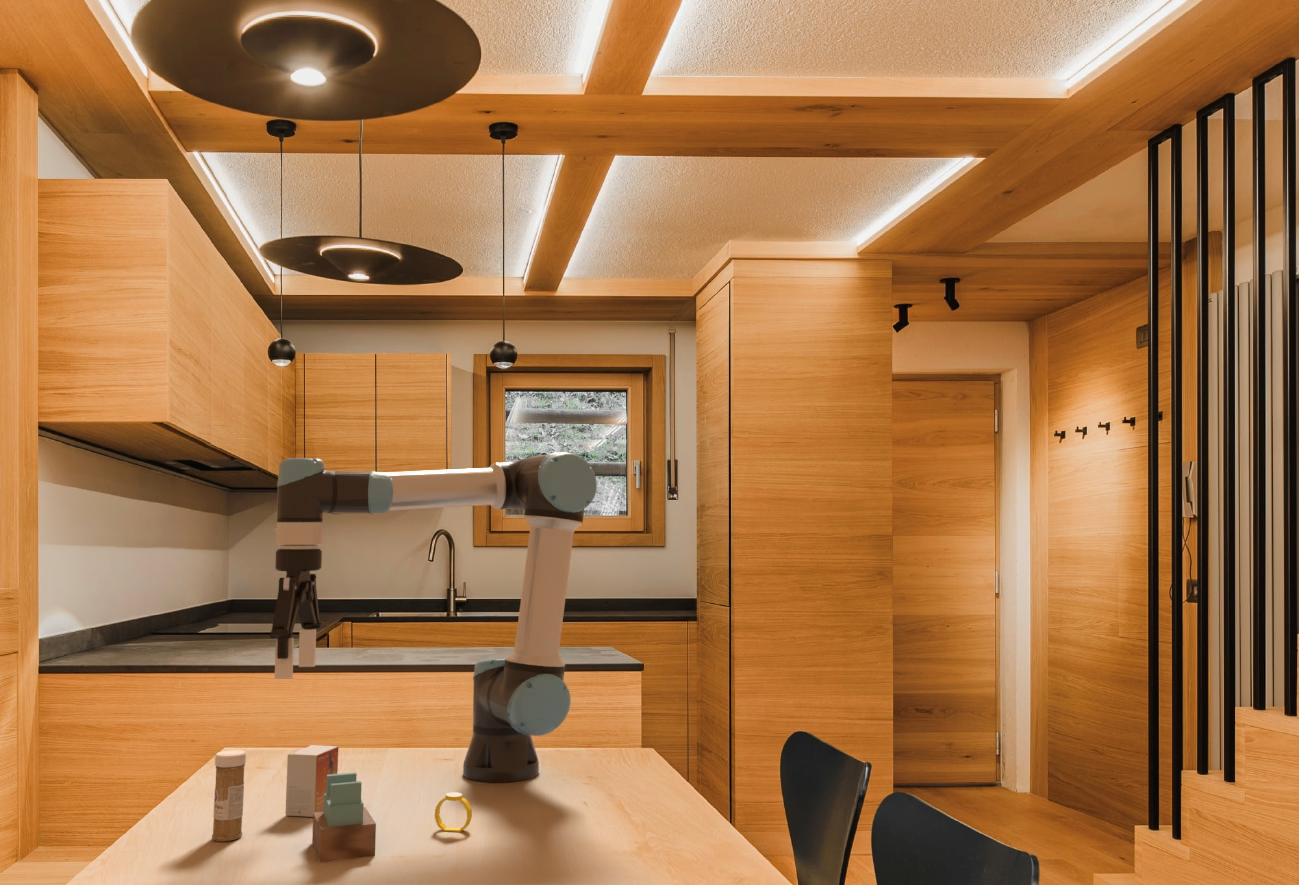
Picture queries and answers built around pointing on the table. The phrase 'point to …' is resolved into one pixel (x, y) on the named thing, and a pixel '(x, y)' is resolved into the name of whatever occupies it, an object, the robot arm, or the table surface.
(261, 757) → the table surface
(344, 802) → the top block
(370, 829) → the bottom block
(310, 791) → the small box
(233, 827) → the sprinkles bottle
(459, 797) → the watch
